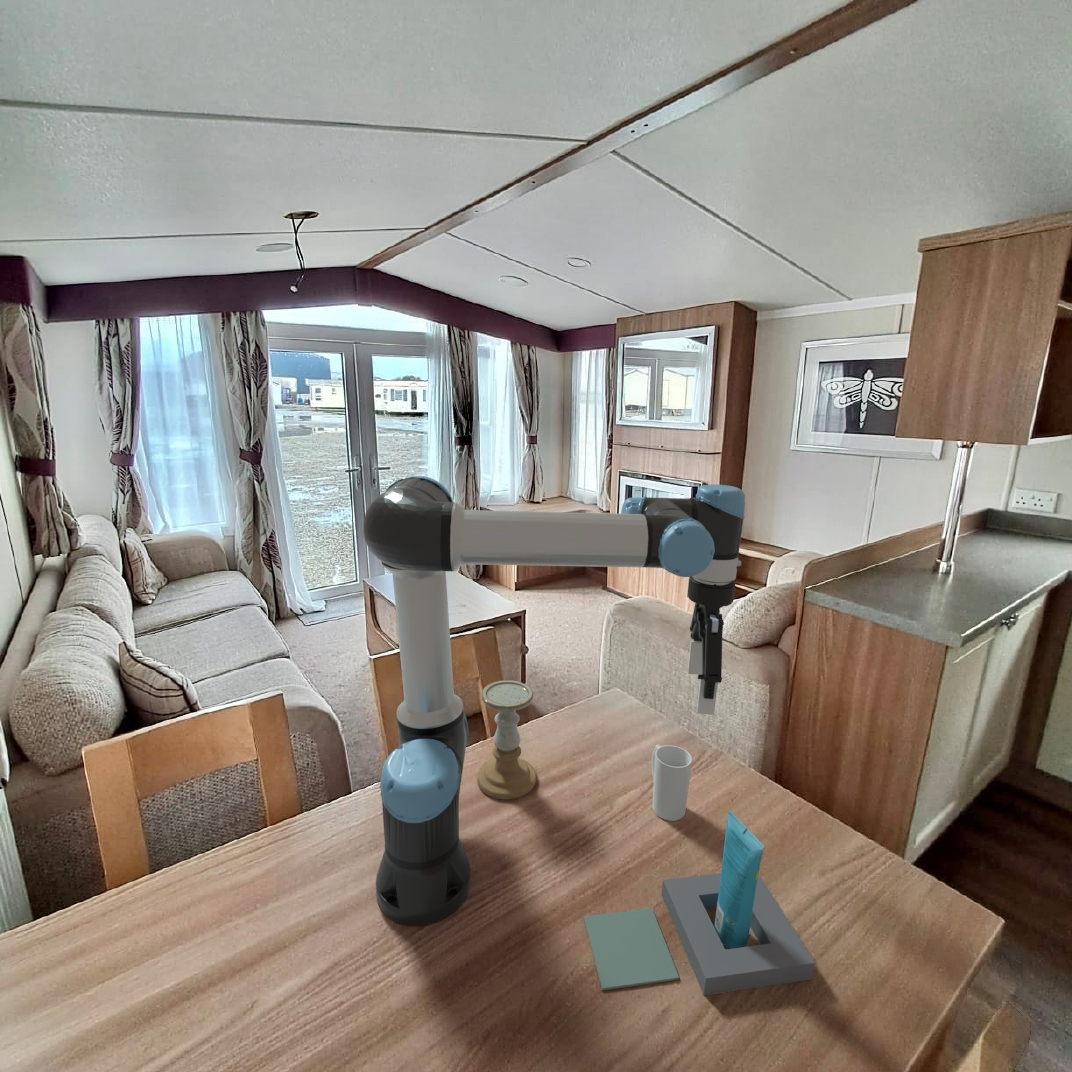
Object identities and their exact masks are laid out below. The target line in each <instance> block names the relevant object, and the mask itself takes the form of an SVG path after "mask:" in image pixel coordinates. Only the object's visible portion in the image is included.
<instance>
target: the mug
mask: <svg viewBox="0 0 1072 1072" xmlns="http://www.w3.org/2000/svg"><path fill="white" fill-rule="evenodd" d="M654 747H655V748H654V750H653V751H652V754H651V773H652V781H653V787H652V788H653V789H652V806H651V807H652V811H653V813H654V814H655V815H656V816H657V817H659V818H661V819H663V820H665V821H669V822H670V821H671V822H674V821H679V820H682V819H683V818H684V816H685V814H686V808H687V803H688V796H689V795H688V792H689V785H690V779H691V778H690V777H691V771H692V761H693V758H692V755H691V754H690V753H689V751H687V750H686V749H684V748H682V747H679V746H676V745H670V744H669V745H668V744H666V745H661V744H659V743H658V744H656V745H655V746H654Z"/></svg>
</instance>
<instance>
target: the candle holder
mask: <svg viewBox="0 0 1072 1072" xmlns="http://www.w3.org/2000/svg"><path fill="white" fill-rule="evenodd" d="M480 698H481V701H482V703H483V705H485V706H486V707H488V708H490V709H491V710H495V711H498V713H496V715H495V717H494V722H495V723H496V725H497V726H496V729H495V730H496V731H495V733H494V735H493V744H494V747H493V748H492V755H493V757H494V758H491V759H489V760H488V761H485V762H484V763H483V764H482V765H481V766H480V768H479V770H478V771H477V774H476V782H477V786H478V788H479V789H480V790H481V792H483V793H484V794H485V795H487V796H489V797H490V798H494V799H499V800H515V799H518V798H522V797H524V796H526V795H528V793H530V792H531V791H532V790H533V788H534V787H535V785H536V782H537V771H536V770H535V767H534V766H533V765H532V764H531V763H530V762H529V761H527V760H525V759H523V758H521V757H520V756H521V754H522V749H521V746H520V744H521V735H520V733H519V729H518V724H519V722H520V721H521V720H520V715H519V714H518V713H517V712H516V711H519V710H523V709H525V708H526V707H528V706H529V705H531V703H532V702H533V699H534V691H533V689H532V687H530V686H529V685H528V684H526V683H523V682H520V681H517V680H510V679H509V680H507V679H506V680H504V679H503V680H499V681H494V682H491V683H489V684H487V685H485V687H484V688H483V689H482V691H481V692H480Z"/></svg>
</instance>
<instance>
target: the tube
mask: <svg viewBox="0 0 1072 1072" xmlns="http://www.w3.org/2000/svg"><path fill="white" fill-rule="evenodd" d="M725 827H726V828H725V836H724V837H725V838H724V845H723V855H722V863H721V871H720V873H721V878H720V886H719V894H718V902H717V908H716V911H715V918H714V919H715V920H714V925H713V926H714V928H715V930H716V932H717V934H718V936H719V938H720V940H721V942H722V944H723V946H724V947H727V948H728V949H733V948H741V947H747V945H748V941H749V938H750V936H749V935H750V929H751V927H750V923H751V917H752V910H753V903H754V897H755V891H756V885H757V879H758V874H759V875H760V867H761V862H762V857H763V853H764V850H765V846H764V844H763V843H761V841H760V840H759V839H758V838H757V837H756V836H755V835H754V834H753V833H752V832H751V830H749V829H748V828H747V827H746V826H745V825H744V823H743V822H742V821H740V819H738V817H736V815H734V814H733V813H732V812H731V811H730V809H728V810H727V820H726V826H725Z"/></svg>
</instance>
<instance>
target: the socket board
mask: <svg viewBox="0 0 1072 1072" xmlns="http://www.w3.org/2000/svg"><path fill="white" fill-rule="evenodd" d="M720 878H721V872H719V873H711V874H704V875H703V874H702V875H694V876H685V877H678V878H677V877H675V878H668V879H662V885H661V896H662V899H663V902H664V904H665V908H666V909H667V912H668V913H669V916H670V919H671V921H672V924H673V925H674V928H675V931H676V933H677V935H678V937H679V940H680V942H681V945H682V947H683V950H684V952H685V954H686V957H687V959H688V961H689V963H690V966H691V969H692V972H693V974H694V976H695V979H696V981H697V984H698V986H699V987H700V991H701V992H702V995H703V996H708V995H709V996H710V995H716V994H722V993H729V992H735V991H736V992H737V991H743V990H751V989H756V988H757V989H758V988H764V987H771V986H776V985H784V984H791V983H798V982H805V981H810V980H811V981H812V980H813V976H814V971H815V966H816V962H815V961H814V959H813V957H812V956H811V954H810V952H809V951H808V949H807V948H806V947H805V944H804V943H803V942H802V940H801V938H800V937H799V935H798V934H797V932H796V930H795V928H794V927H793V926H792V924H791V923H790V921H789V919H788V918H787V916H786V915H785V913H784V911H783V910H782V908H781V907H780V905H779V903H778V902H777V901H776V898H775V897H774V896H773V894H772V893H771V891H770V889H769V888H768V886H767V884H766V883H765V881H764V880H763V879H762V877H761V875H760V873H759V874H758V879H757V885H756V891H755V897H754V903H753V910H752V917H751V923H750V929H751V930H752V932H753V934H754V936H755V938H756V939H757V942H758V944H757V945H749V946H745V947H741V948H733V949H732V948H727V949H725V945H724V944H722V942H721V940H720V938H719V936H718V934H717V932H716V930H715V928H714V926H715V925H714V924H713V922H712V920H711V918H710V916H709V914H708V912H707V910H712V909H713V910H714V909H717V902H718V894H719V886H720Z"/></svg>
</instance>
